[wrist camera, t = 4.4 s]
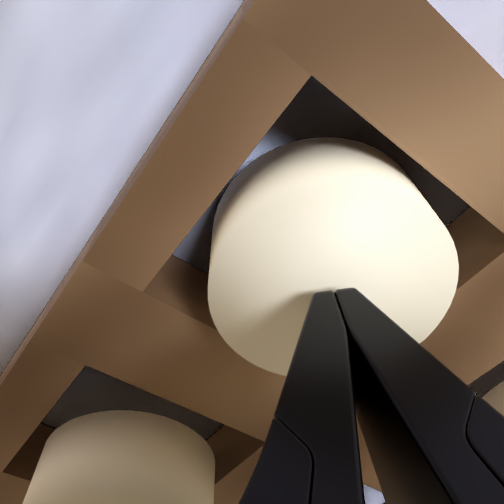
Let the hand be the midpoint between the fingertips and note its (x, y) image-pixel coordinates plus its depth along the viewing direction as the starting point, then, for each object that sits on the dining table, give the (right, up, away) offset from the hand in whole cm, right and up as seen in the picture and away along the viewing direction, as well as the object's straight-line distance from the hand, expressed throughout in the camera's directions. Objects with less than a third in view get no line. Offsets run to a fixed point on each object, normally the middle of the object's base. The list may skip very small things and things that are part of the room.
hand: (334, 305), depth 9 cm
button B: (0, +1, +2) cm, 3 cm away
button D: (-5, -5, +5) cm, 9 cm away
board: (-1, -5, +7) cm, 9 cm away
